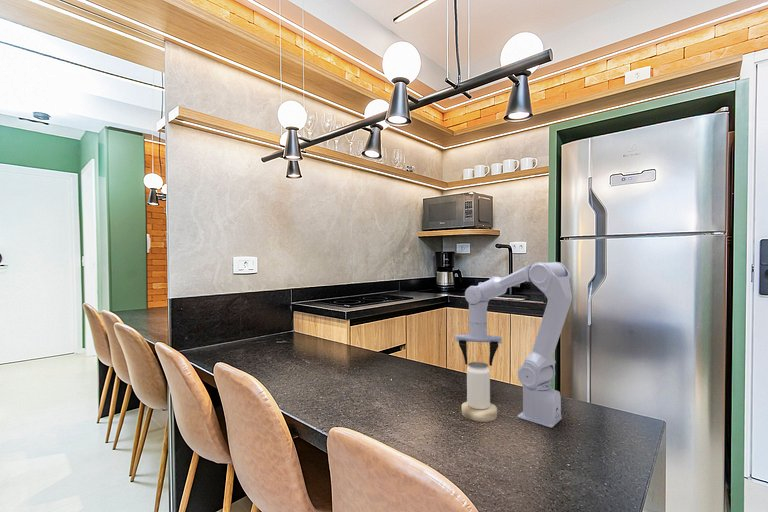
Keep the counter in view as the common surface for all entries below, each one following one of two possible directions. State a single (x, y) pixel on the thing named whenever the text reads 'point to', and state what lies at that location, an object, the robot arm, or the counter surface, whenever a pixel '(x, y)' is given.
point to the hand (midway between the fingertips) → (478, 364)
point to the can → (478, 385)
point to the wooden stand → (479, 413)
